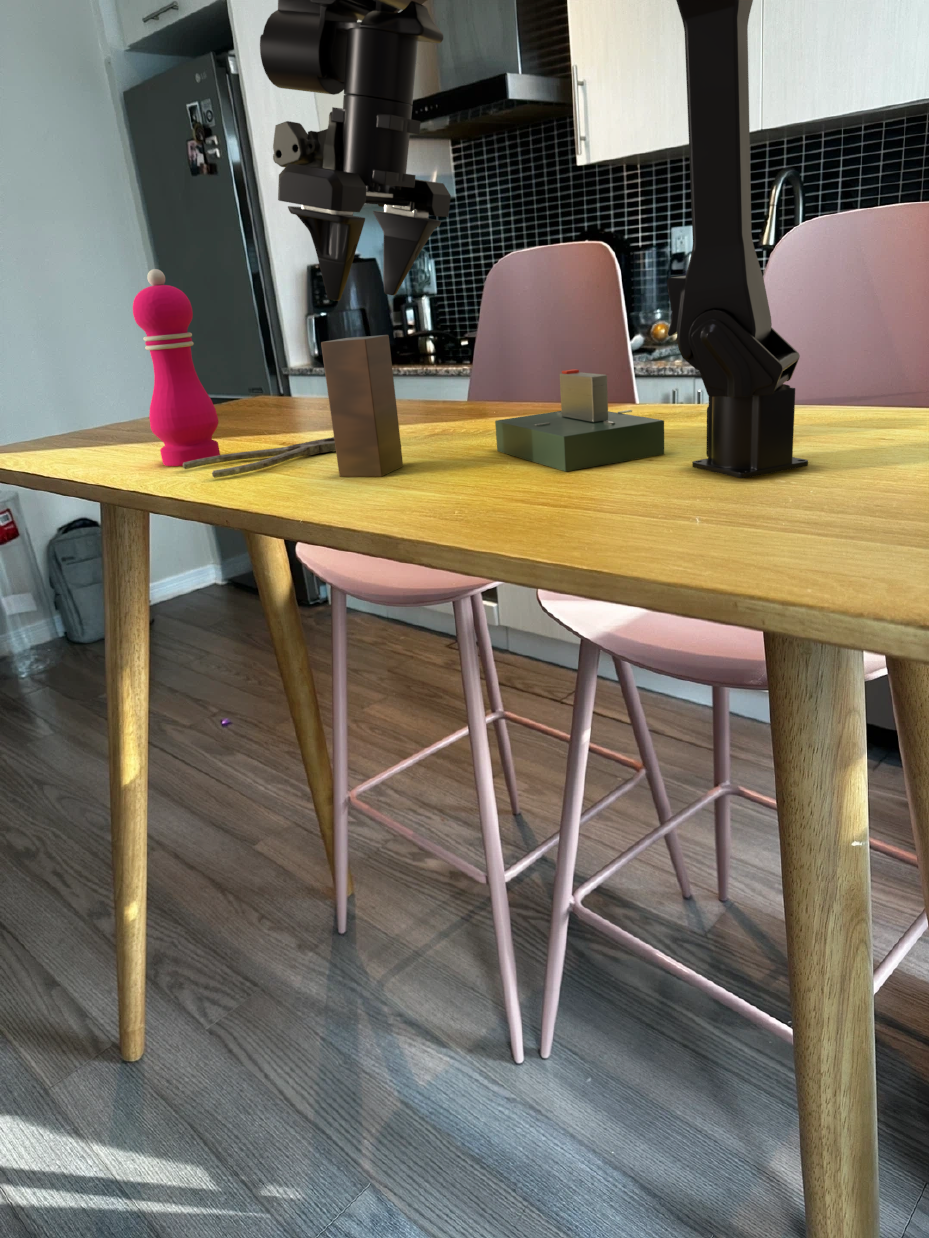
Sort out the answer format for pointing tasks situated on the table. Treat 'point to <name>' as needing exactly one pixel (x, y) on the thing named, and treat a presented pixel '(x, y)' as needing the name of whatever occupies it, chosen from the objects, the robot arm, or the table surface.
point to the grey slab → (584, 396)
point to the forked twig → (278, 454)
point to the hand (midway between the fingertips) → (363, 297)
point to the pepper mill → (174, 375)
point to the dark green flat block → (580, 439)
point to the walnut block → (363, 405)
